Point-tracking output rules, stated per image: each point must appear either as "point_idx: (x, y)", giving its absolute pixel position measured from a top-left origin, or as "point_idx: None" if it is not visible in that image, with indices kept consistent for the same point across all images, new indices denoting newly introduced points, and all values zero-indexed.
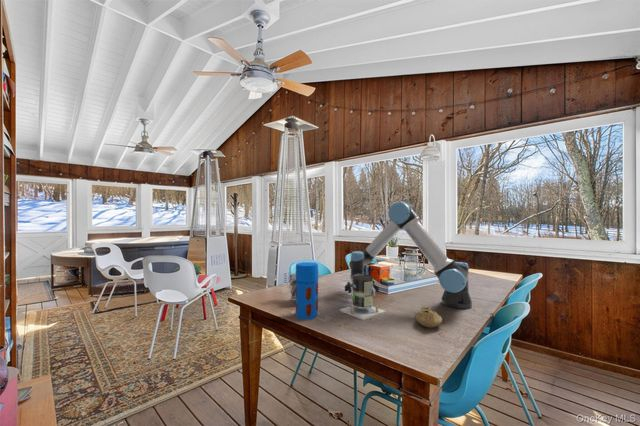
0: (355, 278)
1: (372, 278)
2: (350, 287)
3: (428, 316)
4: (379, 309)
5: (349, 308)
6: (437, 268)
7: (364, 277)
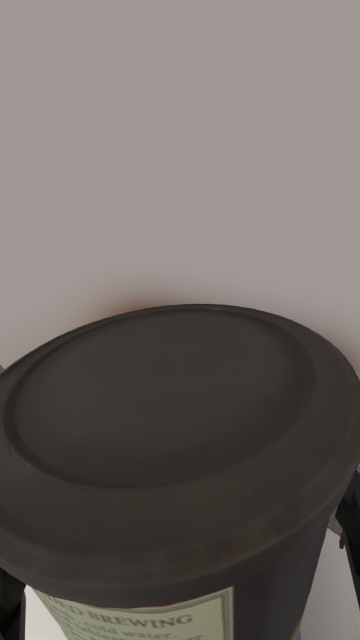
0: (248, 320)
1: (51, 340)
2: (354, 498)
3: (3, 369)
4: (42, 635)
5: (317, 614)
6: None
7: (131, 364)
